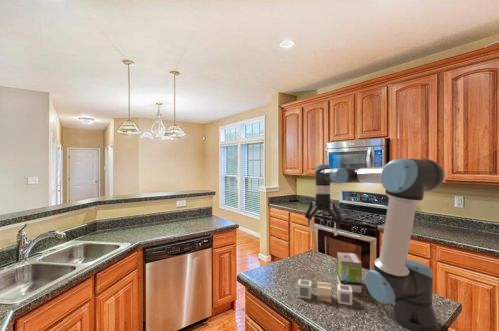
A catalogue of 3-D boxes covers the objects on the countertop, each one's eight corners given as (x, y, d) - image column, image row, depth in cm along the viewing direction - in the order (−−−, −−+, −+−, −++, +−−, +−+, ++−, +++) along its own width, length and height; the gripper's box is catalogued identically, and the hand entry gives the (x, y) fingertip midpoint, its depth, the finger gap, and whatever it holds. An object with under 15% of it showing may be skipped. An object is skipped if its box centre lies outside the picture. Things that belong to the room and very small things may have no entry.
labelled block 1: (310, 299, 117) (310, 286, 117) (297, 297, 118) (297, 284, 118) (311, 293, 122) (311, 280, 123) (298, 291, 124) (299, 278, 124)
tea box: (362, 293, 123) (362, 262, 123) (340, 291, 125) (340, 261, 125) (355, 280, 137) (355, 252, 137) (336, 278, 139) (336, 251, 139)
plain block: (331, 302, 114) (331, 289, 114) (317, 300, 116) (317, 287, 116) (330, 296, 120) (330, 283, 120) (317, 294, 122) (317, 281, 122)
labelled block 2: (352, 305, 111) (352, 291, 111) (337, 303, 113) (338, 289, 113) (351, 298, 117) (351, 285, 117) (337, 296, 119) (337, 283, 119)
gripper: (349, 194, 130) (349, 235, 130) (304, 191, 146) (305, 228, 145) (344, 195, 124) (344, 238, 124) (298, 192, 140) (298, 231, 140)
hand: (323, 233), depth 135 cm, fingers open, 13 cm apart
